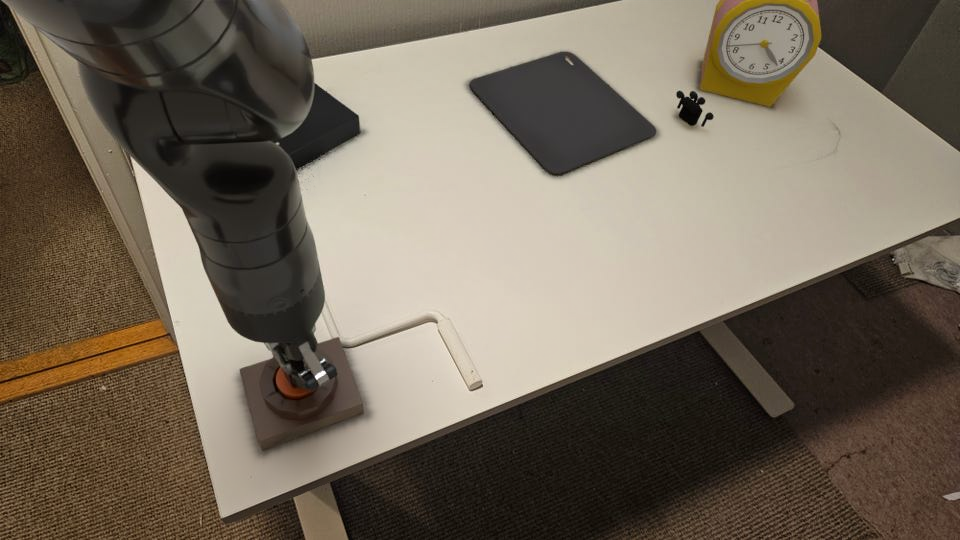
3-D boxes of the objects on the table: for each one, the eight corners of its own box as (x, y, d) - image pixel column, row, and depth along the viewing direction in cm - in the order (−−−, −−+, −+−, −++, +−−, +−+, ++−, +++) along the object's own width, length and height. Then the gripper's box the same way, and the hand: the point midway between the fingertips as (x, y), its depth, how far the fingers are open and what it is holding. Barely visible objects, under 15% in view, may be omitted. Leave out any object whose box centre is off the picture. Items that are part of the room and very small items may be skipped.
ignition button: (284, 409, 57) (281, 401, 56) (274, 373, 59) (271, 365, 58) (326, 394, 59) (324, 386, 57) (314, 360, 61) (312, 351, 59)
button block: (262, 450, 57) (253, 434, 54) (243, 378, 62) (235, 360, 58) (364, 412, 61) (362, 395, 57) (340, 346, 65) (337, 327, 62)
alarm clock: (689, 89, 98) (738, -22, 84) (692, 61, 103) (739, -49, 89) (781, 112, 97) (848, 4, 82) (779, 82, 102) (842, -25, 87)
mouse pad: (660, 134, 91) (661, 132, 91) (552, 178, 83) (553, 176, 83) (568, 50, 101) (568, 49, 101) (465, 82, 93) (465, 81, 93)
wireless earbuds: (707, 132, 92) (720, 106, 88) (696, 138, 91) (710, 111, 87) (672, 107, 95) (684, 80, 91) (662, 112, 94) (673, 85, 90)
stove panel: (246, 212, 74) (240, 194, 72) (173, 145, 80) (165, 126, 77) (369, 139, 84) (368, 121, 82) (296, 84, 90) (293, 66, 87)
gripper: (361, 303, 43) (372, 406, 57) (267, 191, 48) (298, 310, 62) (263, 361, 39) (301, 455, 53) (173, 234, 45) (229, 349, 59)
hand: (299, 377), depth 58 cm, fingers closed
